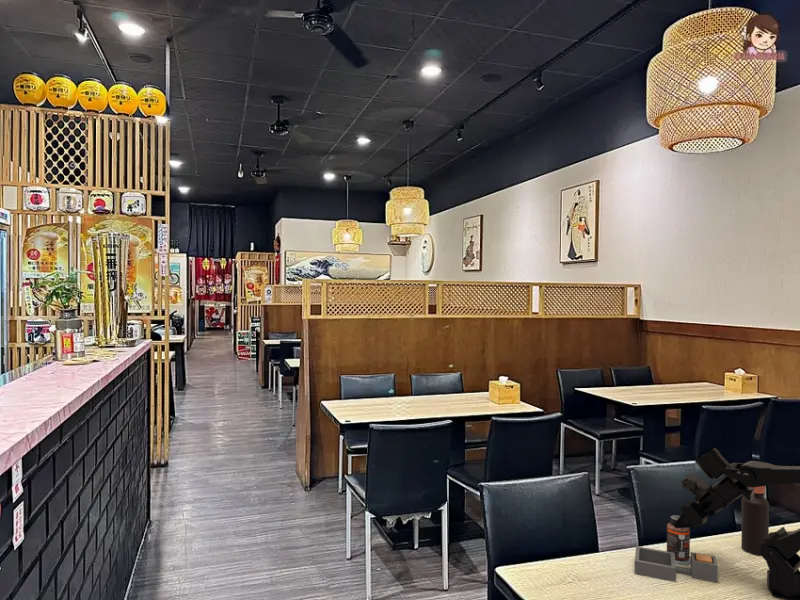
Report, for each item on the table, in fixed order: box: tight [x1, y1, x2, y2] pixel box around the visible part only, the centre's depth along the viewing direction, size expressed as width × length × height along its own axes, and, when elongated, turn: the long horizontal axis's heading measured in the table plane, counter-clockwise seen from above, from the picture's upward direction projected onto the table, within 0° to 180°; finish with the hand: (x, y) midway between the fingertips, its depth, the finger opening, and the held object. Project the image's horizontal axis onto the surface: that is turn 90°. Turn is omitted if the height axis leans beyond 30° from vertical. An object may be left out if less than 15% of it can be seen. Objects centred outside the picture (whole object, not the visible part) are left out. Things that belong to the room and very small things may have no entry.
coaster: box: [675, 555, 691, 566], centre depth 159 cm, size 8×8×1 cm
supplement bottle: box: [666, 514, 691, 561], centre depth 159 cm, size 6×6×11 cm
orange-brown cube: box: [695, 552, 712, 563], centre depth 149 cm, size 4×4×4 cm
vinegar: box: [740, 486, 770, 556], centre depth 164 cm, size 7×7×20 cm
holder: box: [634, 545, 719, 584], centre depth 150 cm, size 20×10×4 cm, turn 65°
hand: (680, 522), depth 159 cm, fingers open, 9 cm apart
